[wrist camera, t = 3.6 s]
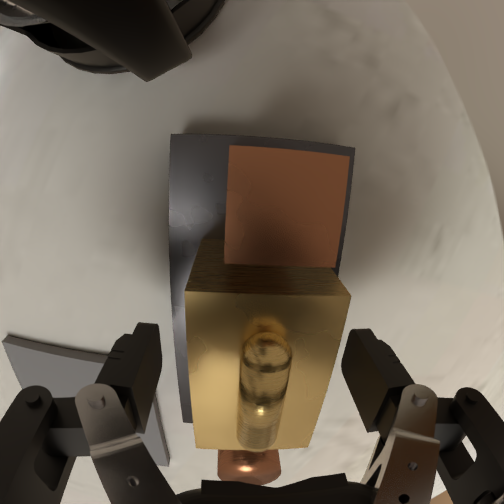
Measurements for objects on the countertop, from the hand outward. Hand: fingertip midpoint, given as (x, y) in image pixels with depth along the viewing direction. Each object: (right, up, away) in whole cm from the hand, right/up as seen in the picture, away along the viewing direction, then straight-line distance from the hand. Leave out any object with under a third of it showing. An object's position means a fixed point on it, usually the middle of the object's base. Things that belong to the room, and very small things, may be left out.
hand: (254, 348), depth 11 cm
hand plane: (0, +1, +4) cm, 4 cm away
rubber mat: (-12, -7, +6) cm, 15 cm away
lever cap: (0, +1, +2) cm, 2 cm away
